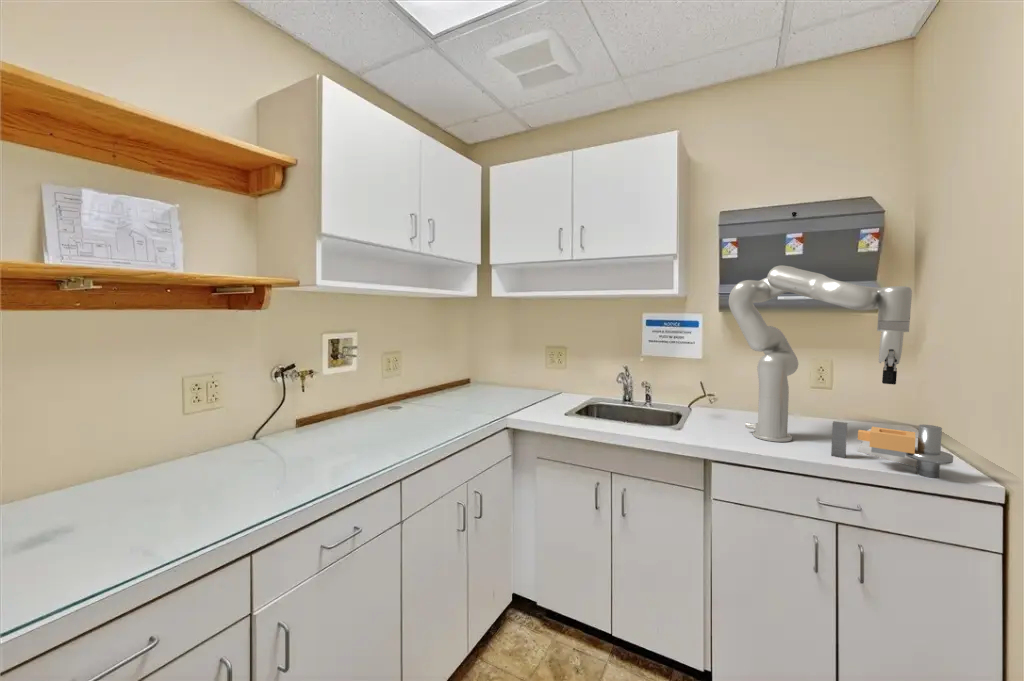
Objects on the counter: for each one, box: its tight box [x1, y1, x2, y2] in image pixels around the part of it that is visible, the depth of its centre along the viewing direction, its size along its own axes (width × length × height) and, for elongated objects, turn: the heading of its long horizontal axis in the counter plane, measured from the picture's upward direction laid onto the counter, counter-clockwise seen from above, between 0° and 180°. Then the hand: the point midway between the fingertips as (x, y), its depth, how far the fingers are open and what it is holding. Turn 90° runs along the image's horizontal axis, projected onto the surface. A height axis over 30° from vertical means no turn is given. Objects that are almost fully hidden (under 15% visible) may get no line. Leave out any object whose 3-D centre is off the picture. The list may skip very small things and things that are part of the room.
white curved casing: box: [857, 428, 918, 468], centre depth 143 cm, size 17×5×10 cm, turn 21°
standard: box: [871, 424, 954, 479], centre depth 130 cm, size 18×10×14 cm, turn 48°
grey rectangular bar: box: [830, 420, 848, 459], centre depth 144 cm, size 4×2×11 cm, turn 48°
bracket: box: [857, 426, 916, 454], centre depth 133 cm, size 13×8×4 cm, turn 48°
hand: (889, 381), depth 138 cm, fingers open, 9 cm apart
